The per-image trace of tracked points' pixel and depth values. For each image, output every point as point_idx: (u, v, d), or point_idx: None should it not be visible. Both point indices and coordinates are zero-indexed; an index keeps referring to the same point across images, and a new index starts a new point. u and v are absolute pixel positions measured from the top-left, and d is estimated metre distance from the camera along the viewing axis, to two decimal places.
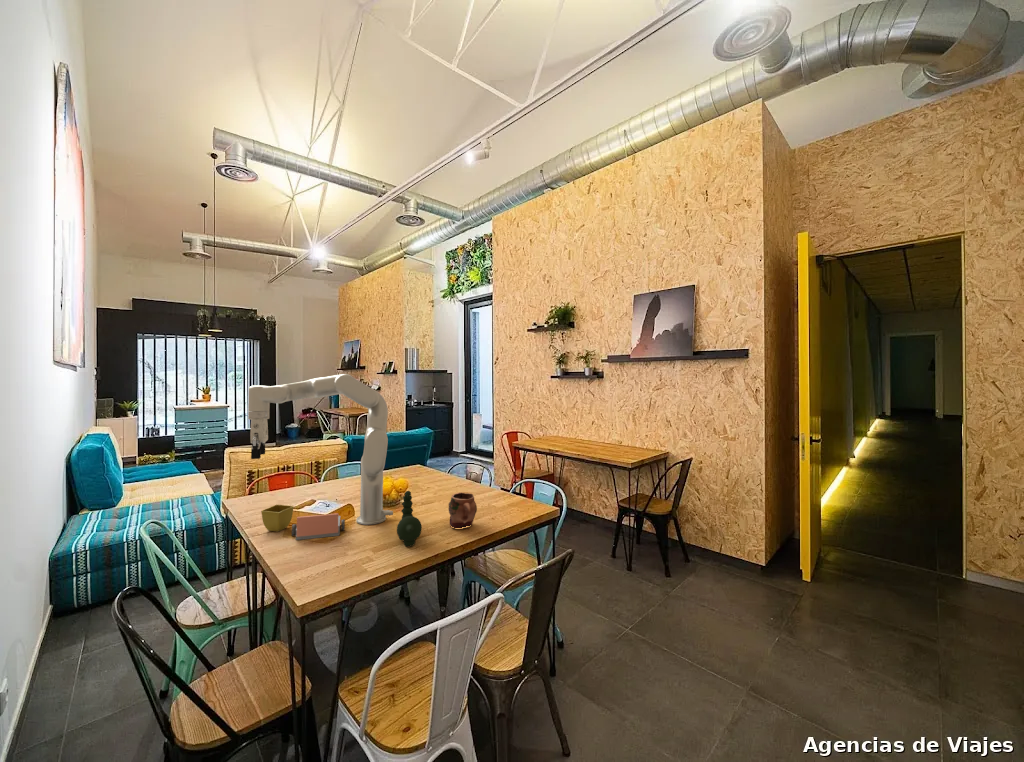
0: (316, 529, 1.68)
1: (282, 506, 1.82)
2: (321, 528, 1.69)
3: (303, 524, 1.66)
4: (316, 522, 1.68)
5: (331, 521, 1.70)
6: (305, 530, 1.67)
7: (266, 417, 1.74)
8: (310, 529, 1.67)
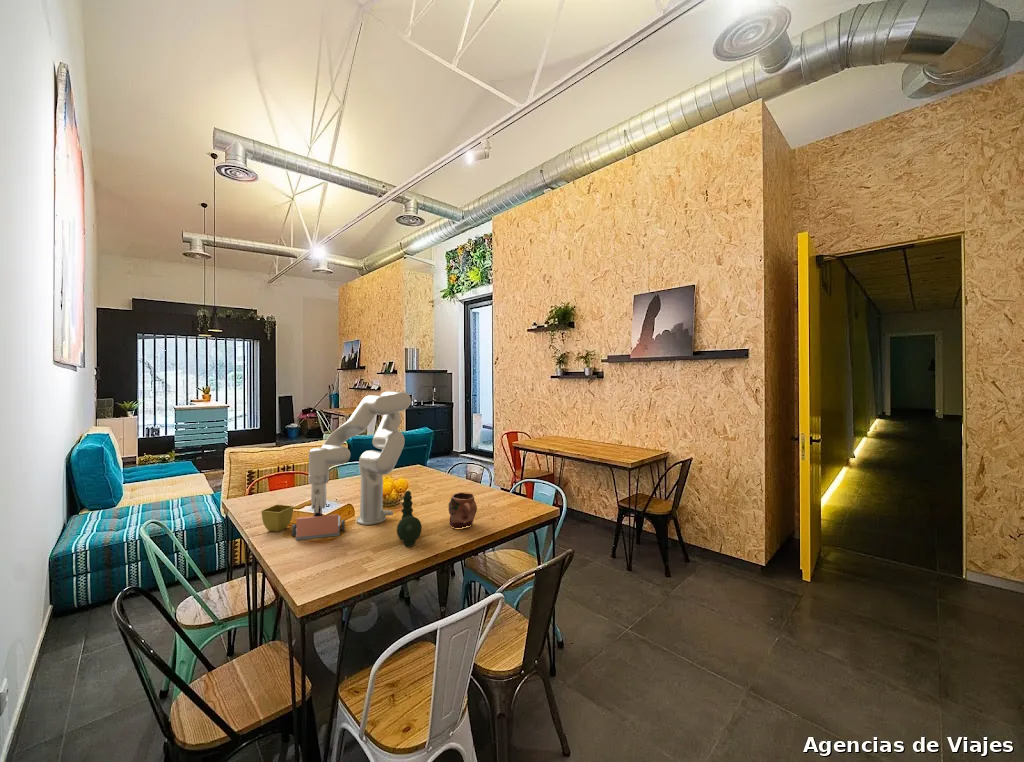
0: (316, 530, 1.68)
1: (282, 506, 1.82)
2: (321, 529, 1.68)
3: (303, 525, 1.66)
4: (316, 523, 1.67)
5: (331, 522, 1.69)
6: (305, 531, 1.66)
7: (326, 481, 1.70)
8: (310, 530, 1.67)
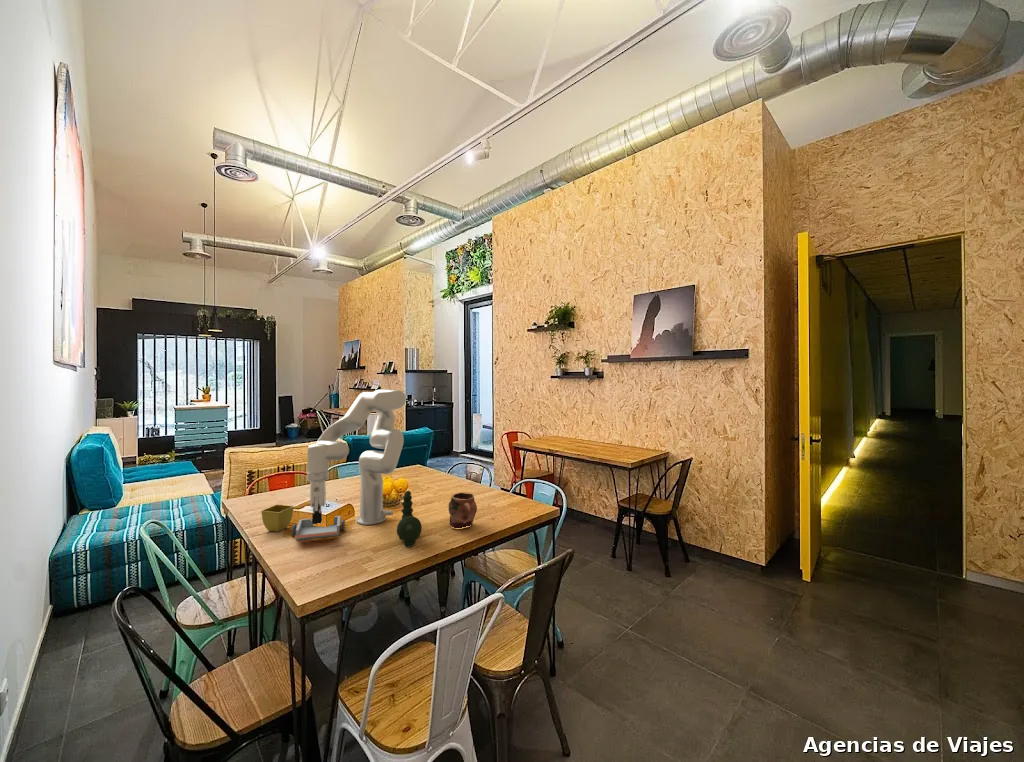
0: None
1: (282, 506, 1.82)
2: None
3: None
4: None
5: None
6: None
7: (326, 478, 1.63)
8: None
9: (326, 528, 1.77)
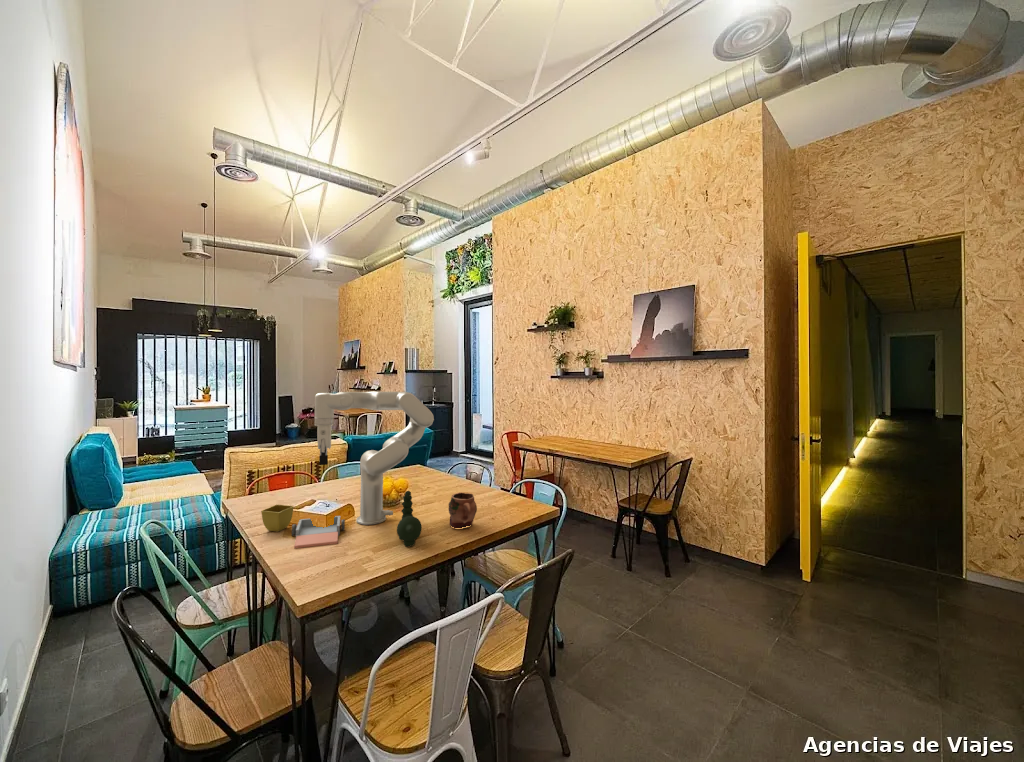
0: None
1: (282, 506, 1.82)
2: None
3: None
4: None
5: None
6: None
7: (331, 423, 1.80)
8: None
9: (326, 528, 1.77)
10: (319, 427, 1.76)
